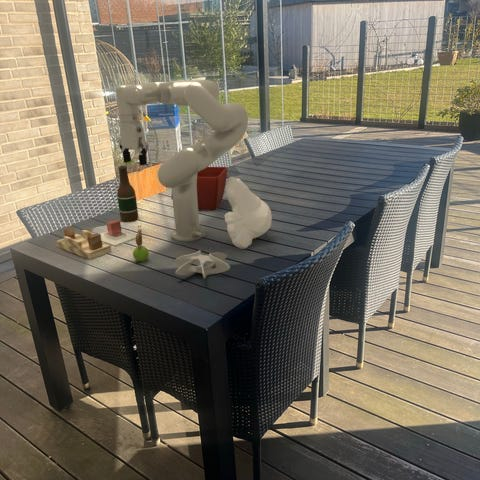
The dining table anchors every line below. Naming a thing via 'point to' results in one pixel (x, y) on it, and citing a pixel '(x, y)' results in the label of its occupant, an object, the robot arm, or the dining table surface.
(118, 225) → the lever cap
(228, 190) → the white bear figurine
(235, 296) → the dining table surface
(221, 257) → the sculpture
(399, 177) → the dining table surface
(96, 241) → the body
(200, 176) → the plant pot
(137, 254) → the snail figurine
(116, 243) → the mat
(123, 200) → the beer bottle
